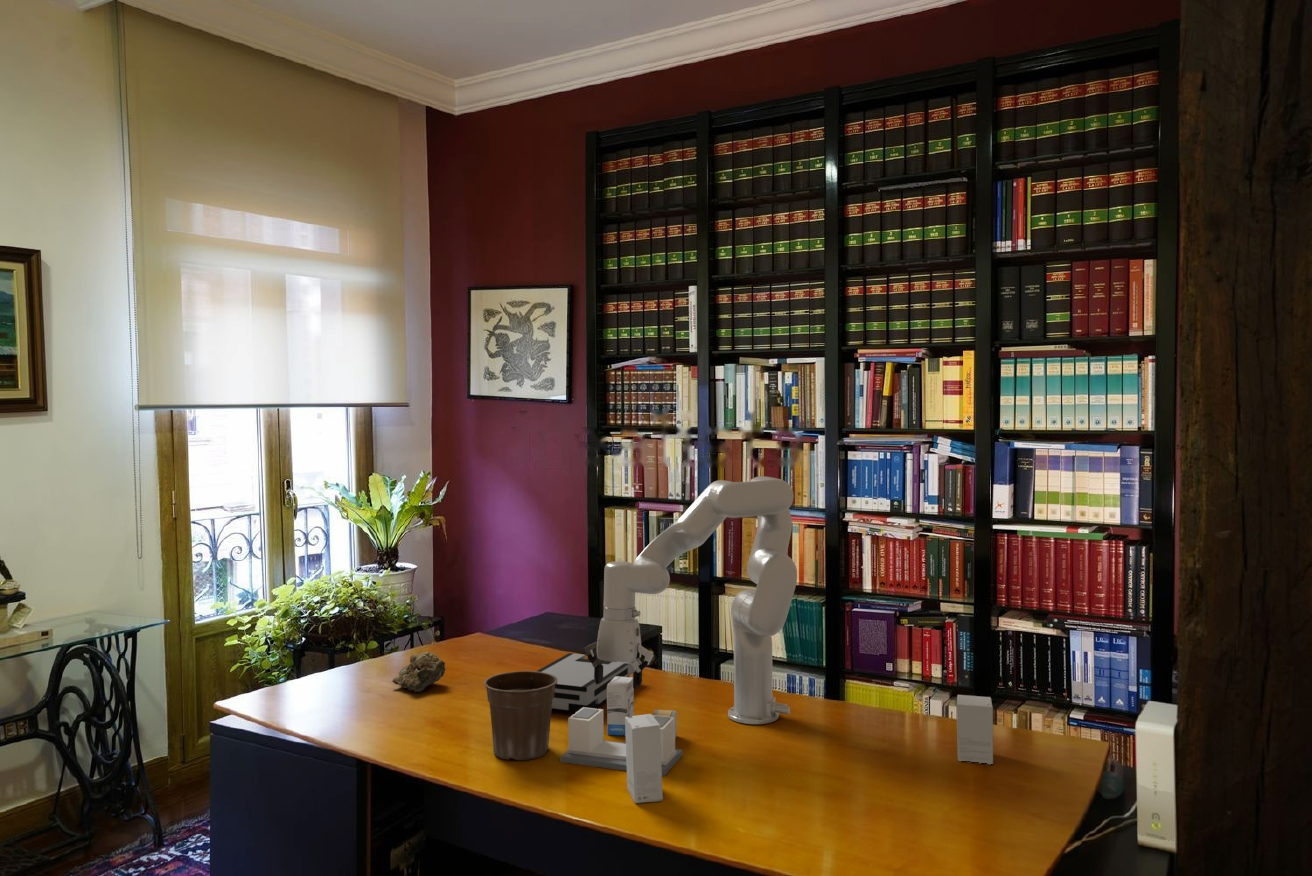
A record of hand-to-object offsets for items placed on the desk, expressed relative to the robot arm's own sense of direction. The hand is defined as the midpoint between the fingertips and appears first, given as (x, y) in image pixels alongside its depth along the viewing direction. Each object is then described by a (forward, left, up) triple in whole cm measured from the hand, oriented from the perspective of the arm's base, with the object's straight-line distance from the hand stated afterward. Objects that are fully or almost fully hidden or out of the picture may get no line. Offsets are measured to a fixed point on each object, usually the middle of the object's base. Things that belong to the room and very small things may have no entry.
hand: (617, 685), depth 214 cm
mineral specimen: (+66, -14, -11) cm, 69 cm away
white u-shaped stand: (-8, +17, -11) cm, 21 cm away
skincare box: (-19, +33, -11) cm, 39 cm away
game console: (+20, -21, -11) cm, 32 cm away
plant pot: (+15, +20, -11) cm, 27 cm away
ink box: (-1, 0, -11) cm, 11 cm away
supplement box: (-81, -8, -11) cm, 82 cm away
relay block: (-13, +3, -11) cm, 17 cm away
